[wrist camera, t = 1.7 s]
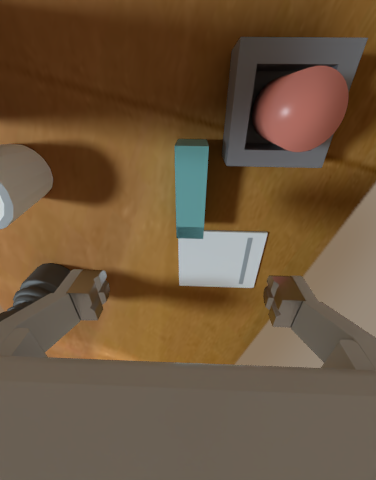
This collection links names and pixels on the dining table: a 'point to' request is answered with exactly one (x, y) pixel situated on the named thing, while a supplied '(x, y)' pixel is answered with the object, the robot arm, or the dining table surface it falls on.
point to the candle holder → (37, 287)
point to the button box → (264, 71)
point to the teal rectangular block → (191, 186)
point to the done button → (301, 108)
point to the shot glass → (21, 181)
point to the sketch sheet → (221, 259)
